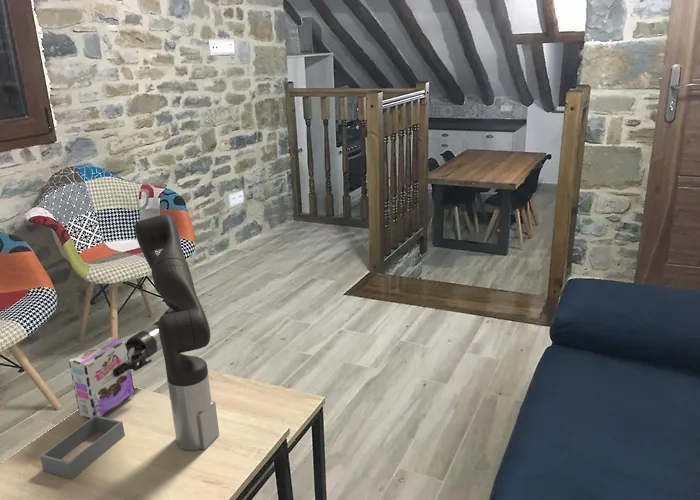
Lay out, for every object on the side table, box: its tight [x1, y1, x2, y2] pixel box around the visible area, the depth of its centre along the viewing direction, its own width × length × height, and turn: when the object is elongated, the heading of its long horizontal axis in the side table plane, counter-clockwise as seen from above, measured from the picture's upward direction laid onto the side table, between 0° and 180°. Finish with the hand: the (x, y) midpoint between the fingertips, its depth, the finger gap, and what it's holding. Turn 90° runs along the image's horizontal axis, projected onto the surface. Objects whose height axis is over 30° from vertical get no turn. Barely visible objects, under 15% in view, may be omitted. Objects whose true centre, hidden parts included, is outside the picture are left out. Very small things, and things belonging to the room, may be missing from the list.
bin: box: [39, 415, 125, 480], centre depth 140 cm, size 9×17×4 cm, turn 158°
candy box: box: [68, 337, 136, 420], centre depth 155 cm, size 14×6×16 cm, turn 154°
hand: (104, 371), depth 155 cm, fingers closed on candy box, 6 cm apart
